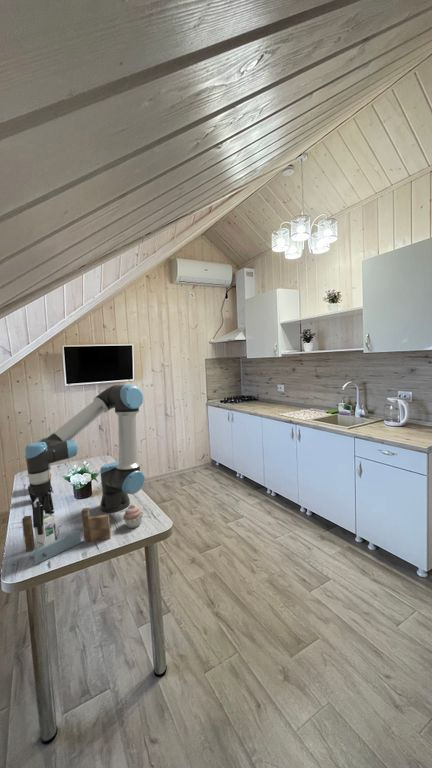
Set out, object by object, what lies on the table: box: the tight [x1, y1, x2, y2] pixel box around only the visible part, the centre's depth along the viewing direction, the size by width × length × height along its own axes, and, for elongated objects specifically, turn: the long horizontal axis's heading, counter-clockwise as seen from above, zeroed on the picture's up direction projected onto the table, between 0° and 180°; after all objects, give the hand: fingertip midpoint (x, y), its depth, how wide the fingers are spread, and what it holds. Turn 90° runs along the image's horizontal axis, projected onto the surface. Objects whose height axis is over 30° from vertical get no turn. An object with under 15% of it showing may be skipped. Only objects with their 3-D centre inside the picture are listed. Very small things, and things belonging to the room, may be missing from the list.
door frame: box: [21, 507, 112, 552], centre depth 136 cm, size 34×2×14 cm, turn 99°
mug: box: [27, 484, 53, 503], centre depth 184 cm, size 12×9×10 cm
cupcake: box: [122, 503, 144, 529], centre depth 148 cm, size 9×9×10 cm
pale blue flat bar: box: [32, 529, 82, 565], centre depth 129 cm, size 18×2×5 cm, turn 140°
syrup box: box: [33, 513, 58, 550], centre depth 129 cm, size 6×6×14 cm
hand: (46, 535), depth 129 cm, fingers closed on syrup box, 8 cm apart
